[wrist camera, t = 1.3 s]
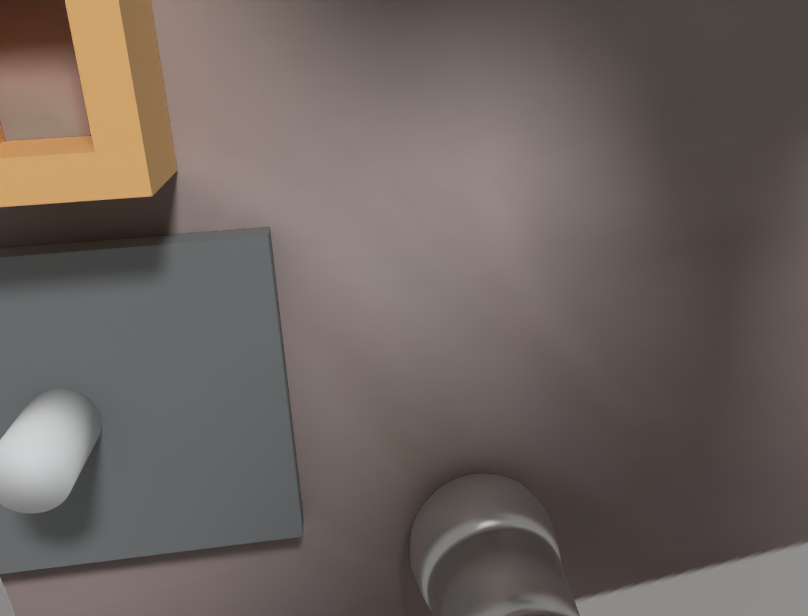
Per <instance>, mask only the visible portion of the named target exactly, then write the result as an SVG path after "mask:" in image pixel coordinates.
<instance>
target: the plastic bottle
mask: <svg viewBox="0 0 808 616" xmlns="http://www.w3.org/2000/svg"><path fill="white" fill-rule="evenodd" d="M410 561H411V567H412V570H413V573H414V576H415V579H416V581H417V584H418V586H419V589H420V591H421V594H422V596H423V598H424V600H425V602H426V603H427V605H428V607H429V609H430V610H431V612H432V615H433V616H580V615H579V613H578V610H577V607H576V604H575V601H574V598H573V596H572V593H571V590H570V587H569V584H568V581H567V579H566V576H565V573H564V570H563V567H562V565H561V557H560V551H559V546H558V542H557V539H556V535H555V532H554V528H553V525H552V522H551V519H550V517H549V515H548V513H547V511H546V510H545V508H544V507H543V506H542V505H541V504H540V503H539V501H538V500H537V499H536V498H535V497H534V496H533V494H532V493H531V492H530V491H529V490H528V489H527V488H526V487H525V486H523V485H522V484H520V483H519V482H517V481H515V480H513V479H510V478H508V477H505V476H499V475H494V474H472V475H466V476H463V477H460V478H457V479H454V480H452V481H450V482H448V483H446V484H444V485H443V486H442V487H440V488H439V489H438V490H436V491H435V492H434V493H433V494H432V495H431V496H430V497H429V498H428V499H427V500H426V502H425V503H424V504H423V505H422V507H421V508H420V510H419V511H418V513H417V515H416V517H415V520H414V522H413V525H412V531H411V543H410Z"/></svg>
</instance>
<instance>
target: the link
mask: <svg viewBox="0 0 808 616" xmlns="http://www.w3.org/2000/svg"><path fill="white" fill-rule="evenodd" d="M65 4H66V9H67V14H68V19H69V24H70V29H71V34H72V40H73V45H74V50H75V55H76V60H77V65H78V70H79V75H80V80H81V85H82V90H83V95H84V101H85V106H86V111H87V116H88V121H89V126H90V131H91V136H81V137H65V138H49V139H33V140H17V141H5V140H4V136H3V132H2V127H1V123H0V207H10V206H24V205H38V204H52V203H66V202H79V201H93V200H107V199H121V198H135V197H149V196H153V195H154V194H155V193H156V192H157V191H158V190H159V189H160V188H161V187H162V186H163V185H164V184H165V183H166V182H167V181H168V180H169V179H170V178H171V177H172V176H173V175H174V174H175V173H176V171H177V165H176V158H175V152H174V146H173V139H172V133H171V127H170V120H169V114H168V108H167V101H166V95H165V89H164V83H163V76H162V70H161V64H160V57H159V51H158V45H157V38H156V32H155V26H154V19H153V13H152V7H151V0H65Z"/></svg>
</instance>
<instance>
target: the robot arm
mask: <svg viewBox="0 0 808 616" xmlns="http://www.w3.org/2000/svg"><path fill="white" fill-rule="evenodd" d="M0 616H15V613H14V611H13V608H12V606H11V603H10V601H9V598H8V595H7V593H6V590H5V588H4V585H3V583H2V580H1V578H0Z"/></svg>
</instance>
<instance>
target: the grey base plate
mask: <svg viewBox="0 0 808 616" xmlns="http://www.w3.org/2000/svg"><path fill="white" fill-rule="evenodd" d="M296 537H303V510H302V501H301V492H300V484H299V475H298V467H297V458H296V449H295V441H294V432H293V423H292V415H291V406H290V398H289V389H288V380H287V372H286V363H285V354H284V346H283V337H282V329H281V320H280V311H279V303H278V294H277V285H276V277H275V268H274V260H273V251H272V242H271V234H270V227H265V228H252V229H239V230H226V231H213V232H200V233H187V234H174V235H161V236H149V237H136V238H123V239H110V240H97V241H84V242H71V243H58V244H45V245H32V246H20V247H7V248H0V574H6V573H14V572H22V571H30V570H38V569H46V568H54V567H62V566H70V565H78V564H86V563H94V562H102V561H111V560H119V559H127V558H135V557H143V556H151V555H159V554H167V553H175V552H183V551H191V550H199V549H207V548H215V547H223V546H231V545H239V544H248V543H256V542H264V541H272V540H280V539H288V538H296Z"/></svg>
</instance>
